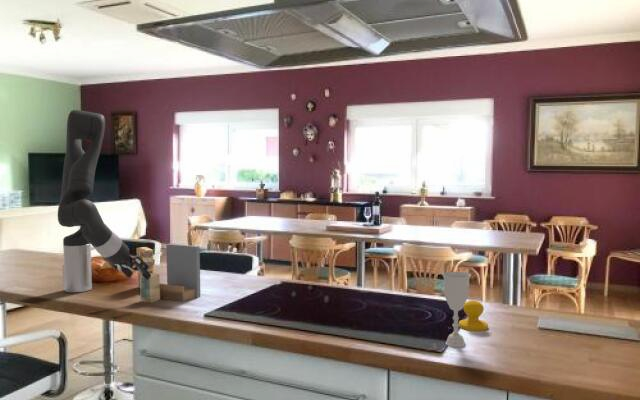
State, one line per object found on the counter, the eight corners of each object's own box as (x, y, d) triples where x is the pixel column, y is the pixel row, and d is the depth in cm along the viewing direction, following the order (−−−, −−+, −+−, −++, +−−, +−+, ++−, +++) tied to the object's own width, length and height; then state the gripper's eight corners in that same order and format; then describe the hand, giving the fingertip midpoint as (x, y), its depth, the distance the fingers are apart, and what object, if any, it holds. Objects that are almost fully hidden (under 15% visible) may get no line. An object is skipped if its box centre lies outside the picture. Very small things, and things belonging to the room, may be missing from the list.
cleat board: (154, 297, 186) (153, 246, 185) (170, 292, 193) (169, 243, 192) (185, 301, 180) (184, 249, 178) (200, 296, 187) (199, 246, 185)
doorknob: (454, 328, 149) (463, 321, 156) (483, 332, 145) (491, 325, 151) (455, 302, 149) (464, 296, 155) (483, 306, 144) (491, 299, 151)
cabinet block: (140, 301, 181) (139, 275, 180) (149, 298, 185) (148, 273, 184) (150, 302, 178) (150, 276, 178) (159, 300, 182) (159, 274, 182)
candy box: (154, 290, 197) (153, 249, 196) (143, 291, 195) (142, 250, 194) (148, 285, 204) (147, 246, 204) (136, 287, 202) (135, 247, 201)
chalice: (465, 339, 139) (466, 271, 138) (474, 348, 132) (474, 277, 131) (438, 339, 139) (438, 272, 138) (445, 348, 132) (445, 277, 131)
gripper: (133, 238, 165) (161, 269, 176) (101, 236, 172) (130, 265, 183) (120, 258, 161) (149, 287, 172) (88, 255, 167) (118, 283, 178)
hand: (139, 276), depth 177 cm, fingers open, 8 cm apart
